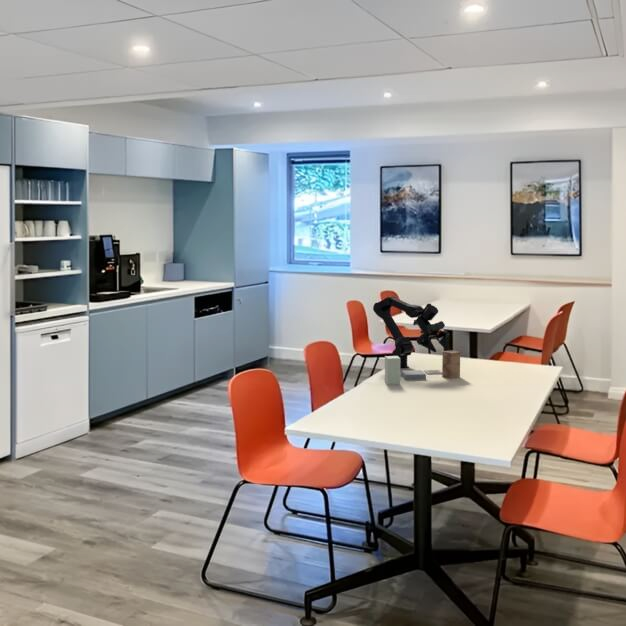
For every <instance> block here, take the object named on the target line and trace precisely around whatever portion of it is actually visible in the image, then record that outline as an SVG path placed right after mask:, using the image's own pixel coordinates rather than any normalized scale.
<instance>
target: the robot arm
mask: <svg viewBox="0 0 626 626" xmlns="http://www.w3.org/2000/svg"><path fill="white" fill-rule="evenodd" d="M392 307H393V308H396V309H397V310H400V311H403V312H404V313H405V314H406V316H408V317H409V318H411V319H413V318H416V319H413V323H412V325H413V326H418V329H420V335H419V337H418V338H416V343H417V345H418V346H421V347H424V348H426V349H427V350H430V351H431V352H433V353H437V349H436V347H435V345H434V344H433V342H432V340H436V341H438V342H437V343H438V344H439V345H441V347H443V348H444V349H445V351H449V350H450V348H449V343H448V338H449V335H450V333H449V332H450V331H448V330H443V329H445V327H446V326H445V325H446V323H444V321H443V320H440V321H439V322H438V321H437V322H435V323H432V324H431V322H430V321H432V320H434V318H435V317H436V316H437V314H438V313H439V309H438V307H436V306H435V305H433V304H432V303H427V304H426V305H425V307H422V306H421V305H417V304H410V303H408V302H406V301H404V300H401V299H399V298H396V297H395V296H387V297H385V298H384V299H382V300H380V301H378V302H375V303H374V304H373V306H372V310H373V312H374V313H375V315H376V316H378V317H379V318H381V320H382V321H383V323H384V324H385V326H386V328H387V329H388V331H389V333H390V335H391V336H392V338H393V339H394V347H395V349H394V350H392V356H398V357H399V358H400V369H410V366H409V365H408V356H411V355H412V353H413V352H412V351H413V348H414V345H413V342H412V340H411V339H410V337H409V336H404V335H403V333H402V332H401V330H400V328H399V326H398V324H397V323H396V322H395V319H394V318H393V316H392V314H391V313H392V312H391V310H392V309H391V308H392Z"/></svg>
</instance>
